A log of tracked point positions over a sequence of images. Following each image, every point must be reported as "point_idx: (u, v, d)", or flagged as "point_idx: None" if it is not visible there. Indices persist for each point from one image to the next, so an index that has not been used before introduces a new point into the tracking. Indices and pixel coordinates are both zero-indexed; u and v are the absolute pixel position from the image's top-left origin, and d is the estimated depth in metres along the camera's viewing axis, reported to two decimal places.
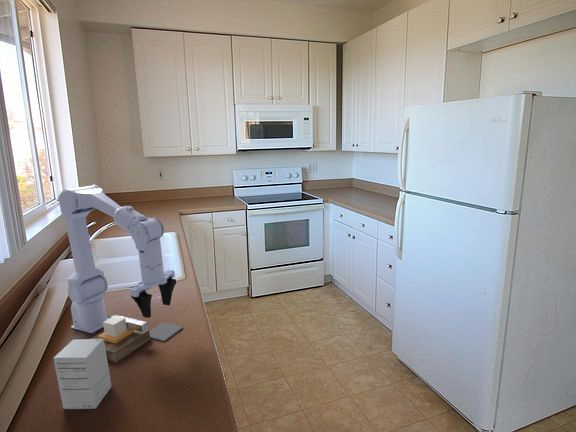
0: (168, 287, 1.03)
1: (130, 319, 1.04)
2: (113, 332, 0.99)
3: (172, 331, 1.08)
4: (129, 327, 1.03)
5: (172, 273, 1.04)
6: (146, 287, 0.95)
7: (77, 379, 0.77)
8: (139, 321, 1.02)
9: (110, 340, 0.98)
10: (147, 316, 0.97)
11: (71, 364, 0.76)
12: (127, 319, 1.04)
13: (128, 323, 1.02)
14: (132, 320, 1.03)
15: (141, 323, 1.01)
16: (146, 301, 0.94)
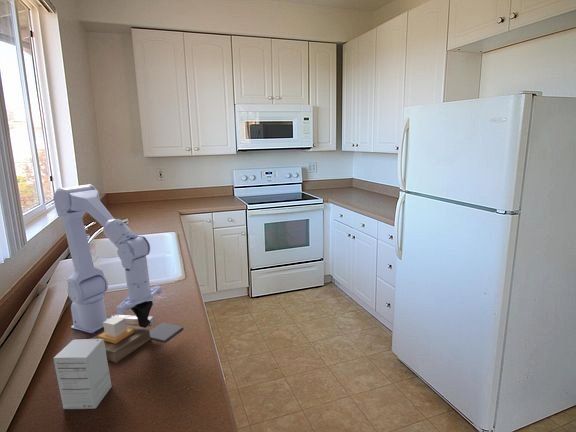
0: None
1: (134, 316, 1.05)
2: (113, 332, 0.99)
3: (172, 331, 1.08)
4: (135, 324, 1.04)
5: (159, 289, 1.06)
6: (132, 304, 0.97)
7: (77, 379, 0.77)
8: None
9: (110, 340, 0.98)
10: None
11: (71, 364, 0.76)
12: (131, 316, 1.05)
13: (133, 320, 1.04)
14: None
15: (148, 318, 1.04)
16: (143, 311, 1.00)
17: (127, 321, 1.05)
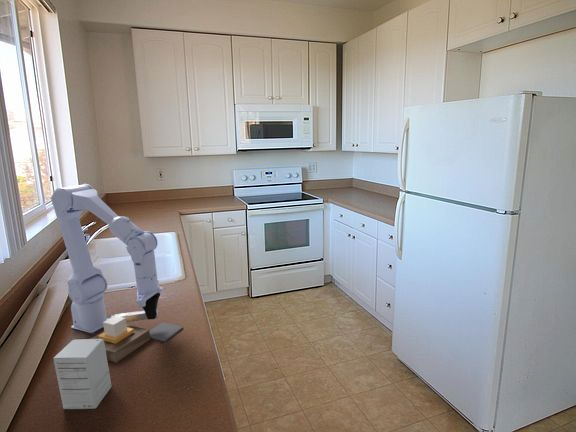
0: None
1: (137, 312, 1.08)
2: (113, 332, 0.99)
3: (172, 331, 1.08)
4: (140, 318, 1.07)
5: (157, 282, 1.12)
6: (149, 296, 1.01)
7: (77, 379, 0.77)
8: None
9: (110, 340, 0.98)
10: (153, 317, 1.07)
11: (71, 365, 0.76)
12: (133, 313, 1.08)
13: (139, 315, 1.07)
14: (140, 312, 1.08)
15: None
16: (155, 303, 1.05)
17: (131, 317, 1.07)
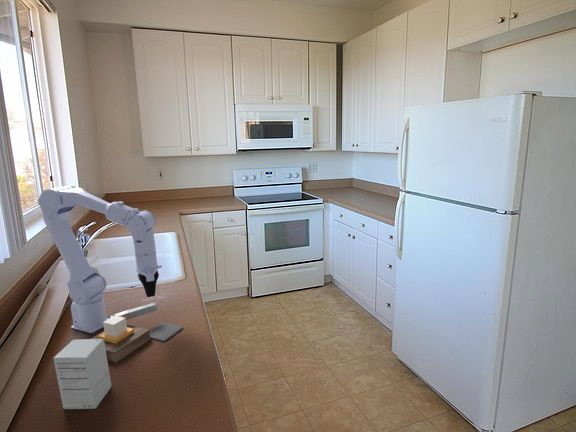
0: None
1: (135, 308, 1.11)
2: (113, 332, 0.99)
3: (172, 331, 1.08)
4: (140, 314, 1.10)
5: None
6: (155, 271, 1.05)
7: (77, 379, 0.77)
8: (147, 305, 1.13)
9: (110, 340, 0.98)
10: (153, 295, 1.10)
11: (71, 364, 0.76)
12: (133, 309, 1.10)
13: (139, 310, 1.10)
14: (139, 307, 1.11)
15: (152, 304, 1.13)
16: None
17: (132, 314, 1.09)
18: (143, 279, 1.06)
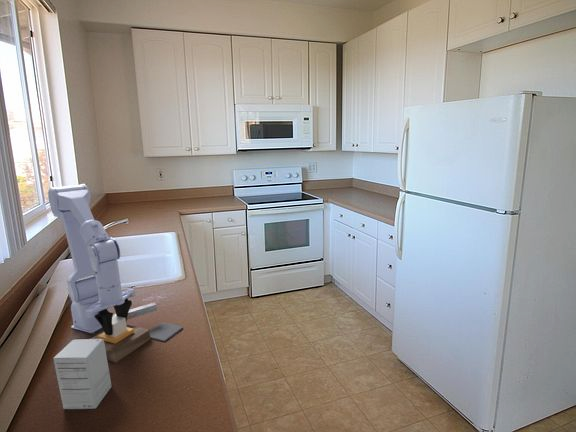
0: (123, 309, 1.02)
1: (135, 308, 1.11)
2: (113, 331, 0.99)
3: (172, 331, 1.08)
4: (140, 314, 1.10)
5: (132, 292, 1.05)
6: (102, 308, 0.95)
7: (77, 379, 0.77)
8: (147, 305, 1.13)
9: (110, 340, 0.98)
10: (109, 334, 0.99)
11: (71, 365, 0.76)
12: (133, 309, 1.10)
13: (139, 310, 1.10)
14: (139, 307, 1.11)
15: (152, 304, 1.13)
16: (107, 319, 0.96)
17: (132, 314, 1.09)
18: None
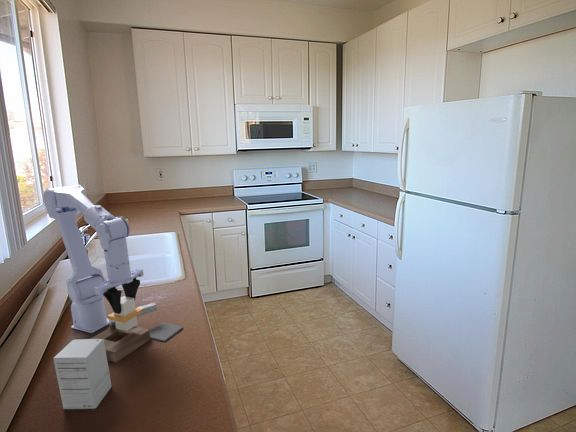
0: (131, 288, 1.02)
1: None
2: (122, 311, 0.99)
3: (172, 331, 1.08)
4: (140, 314, 1.10)
5: (140, 272, 1.05)
6: (111, 286, 0.95)
7: (77, 379, 0.77)
8: (147, 305, 1.13)
9: (119, 319, 0.99)
10: (117, 312, 0.99)
11: (71, 365, 0.76)
12: None
13: None
14: (139, 307, 1.11)
15: (152, 304, 1.13)
16: (115, 297, 0.96)
17: None
18: None
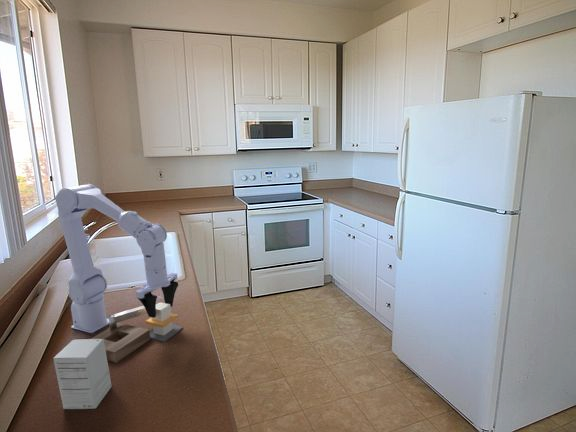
0: (170, 289, 1.09)
1: (135, 308, 1.11)
2: (160, 317, 1.05)
3: (172, 331, 1.08)
4: (140, 314, 1.10)
5: (175, 276, 1.11)
6: (151, 289, 1.01)
7: (77, 379, 0.77)
8: None
9: (157, 324, 1.05)
10: (152, 316, 1.04)
11: (71, 365, 0.76)
12: (133, 309, 1.10)
13: (139, 310, 1.10)
14: (139, 307, 1.11)
15: None
16: (151, 302, 1.01)
17: (132, 314, 1.09)
18: (139, 297, 1.02)
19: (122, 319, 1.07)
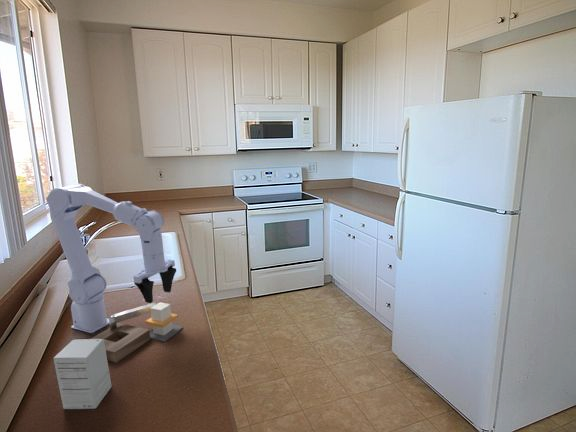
0: (169, 275, 1.11)
1: (135, 308, 1.11)
2: (160, 317, 1.05)
3: (172, 331, 1.08)
4: (140, 314, 1.10)
5: (172, 262, 1.12)
6: (148, 274, 1.03)
7: (77, 379, 0.77)
8: (147, 305, 1.13)
9: (157, 324, 1.05)
10: (149, 301, 1.05)
11: (71, 364, 0.76)
12: (133, 309, 1.10)
13: (139, 310, 1.10)
14: (139, 307, 1.11)
15: (152, 304, 1.13)
16: (148, 287, 1.02)
17: (132, 314, 1.09)
18: (136, 283, 1.03)
19: (122, 319, 1.07)
